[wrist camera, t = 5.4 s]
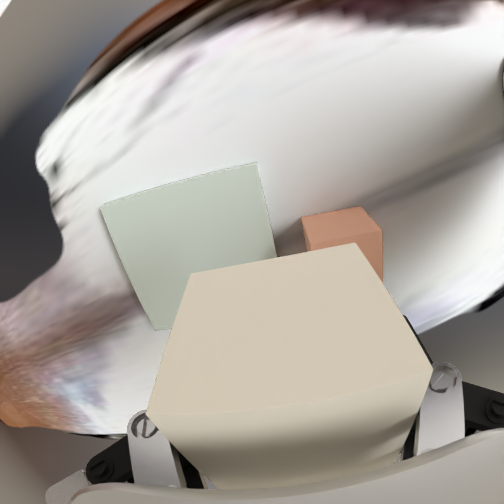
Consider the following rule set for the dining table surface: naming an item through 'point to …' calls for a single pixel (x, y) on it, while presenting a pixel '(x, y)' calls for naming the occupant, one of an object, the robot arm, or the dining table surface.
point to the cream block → (289, 372)
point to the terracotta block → (346, 233)
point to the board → (188, 234)
